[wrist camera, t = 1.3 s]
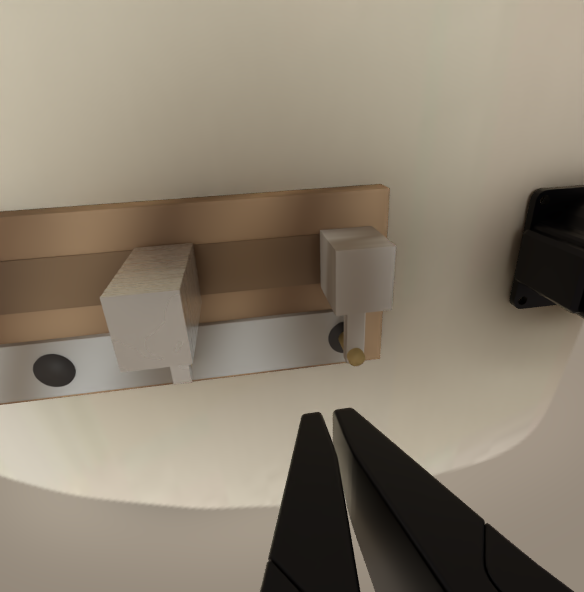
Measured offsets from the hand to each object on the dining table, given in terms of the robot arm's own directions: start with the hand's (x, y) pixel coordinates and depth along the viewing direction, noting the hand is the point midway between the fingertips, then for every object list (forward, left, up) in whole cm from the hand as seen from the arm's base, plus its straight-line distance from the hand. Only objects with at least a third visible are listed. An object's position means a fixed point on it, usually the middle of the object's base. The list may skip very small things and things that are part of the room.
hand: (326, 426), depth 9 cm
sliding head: (+5, +2, -10) cm, 12 cm away
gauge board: (+5, +2, -12) cm, 13 cm away
